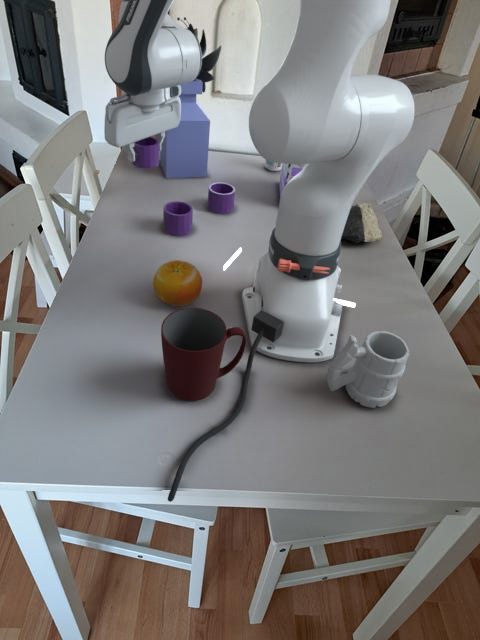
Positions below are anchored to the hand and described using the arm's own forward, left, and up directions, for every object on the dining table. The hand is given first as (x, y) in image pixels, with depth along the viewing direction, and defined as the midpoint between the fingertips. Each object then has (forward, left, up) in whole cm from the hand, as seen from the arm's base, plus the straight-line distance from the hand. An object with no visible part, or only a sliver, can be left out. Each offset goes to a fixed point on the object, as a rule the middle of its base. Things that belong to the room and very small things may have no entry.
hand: (145, 155), depth 106 cm
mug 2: (-53, -45, -11) cm, 70 cm away
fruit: (-36, -14, -11) cm, 40 cm away
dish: (-12, -10, -10) cm, 19 cm away
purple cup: (0, 0, -2) cm, 2 cm away
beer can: (+27, -30, -11) cm, 42 cm away
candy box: (+11, -35, -11) cm, 38 cm away
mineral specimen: (-5, -47, -11) cm, 48 cm away
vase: (+19, -6, -11) cm, 23 cm away
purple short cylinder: (0, -18, -10) cm, 21 cm away
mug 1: (-55, -21, -11) cm, 60 cm away
